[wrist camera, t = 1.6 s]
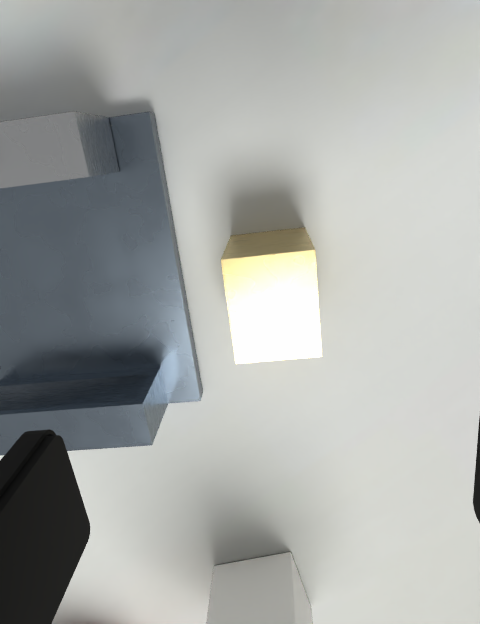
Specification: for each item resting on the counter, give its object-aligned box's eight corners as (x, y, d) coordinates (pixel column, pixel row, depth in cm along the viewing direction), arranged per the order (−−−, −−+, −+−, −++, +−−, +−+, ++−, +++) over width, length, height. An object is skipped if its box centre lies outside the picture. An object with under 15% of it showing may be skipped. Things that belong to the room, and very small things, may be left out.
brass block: (304, 227, 24) (315, 249, 18) (311, 313, 25) (322, 356, 20) (230, 235, 24) (220, 259, 19) (241, 320, 26) (235, 364, 21)
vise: (154, 113, 22) (124, 104, 17) (202, 392, 27) (189, 442, 23) (-103, 149, 23) (-196, 150, 19) (-8, 408, 29) (-61, 459, 24)
